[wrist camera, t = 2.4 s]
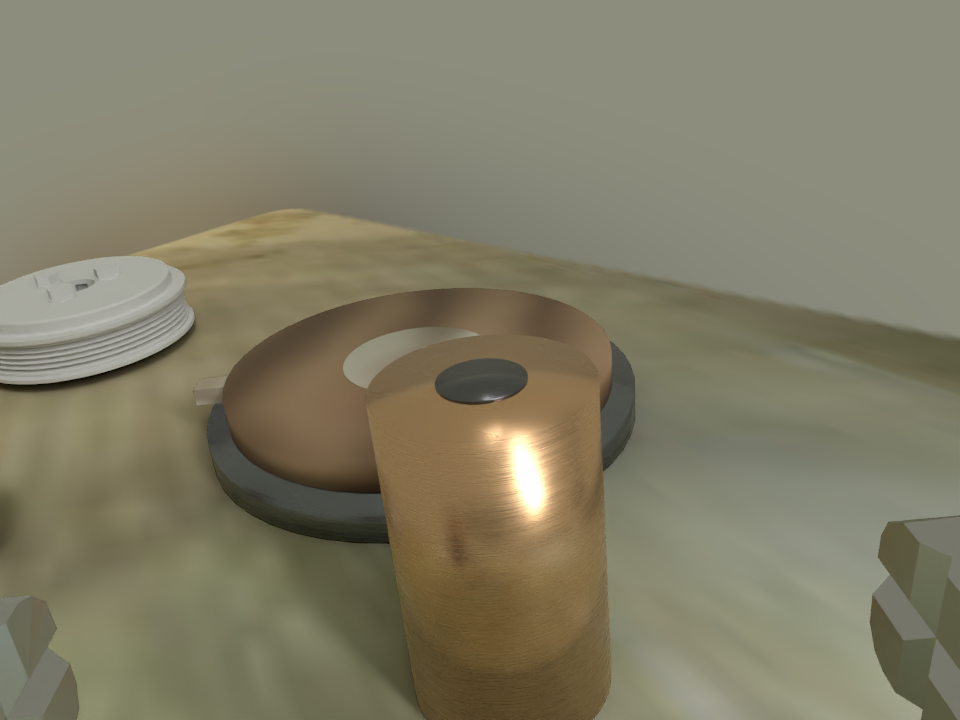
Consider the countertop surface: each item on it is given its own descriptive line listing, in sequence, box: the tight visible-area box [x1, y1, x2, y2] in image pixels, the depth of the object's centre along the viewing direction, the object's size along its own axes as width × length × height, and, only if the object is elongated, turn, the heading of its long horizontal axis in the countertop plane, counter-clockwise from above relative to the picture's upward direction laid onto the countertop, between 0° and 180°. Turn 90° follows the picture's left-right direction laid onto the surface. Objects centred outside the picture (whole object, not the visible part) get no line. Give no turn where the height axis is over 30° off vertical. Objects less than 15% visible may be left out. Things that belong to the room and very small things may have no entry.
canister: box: [365, 334, 611, 720], centre depth 24 cm, size 6×6×10 cm
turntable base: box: [207, 341, 635, 543], centre depth 42 cm, size 20×20×2 cm
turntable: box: [193, 288, 612, 493], centre depth 41 cm, size 20×18×2 cm
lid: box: [0, 256, 195, 384], centre depth 53 cm, size 13×13×5 cm
